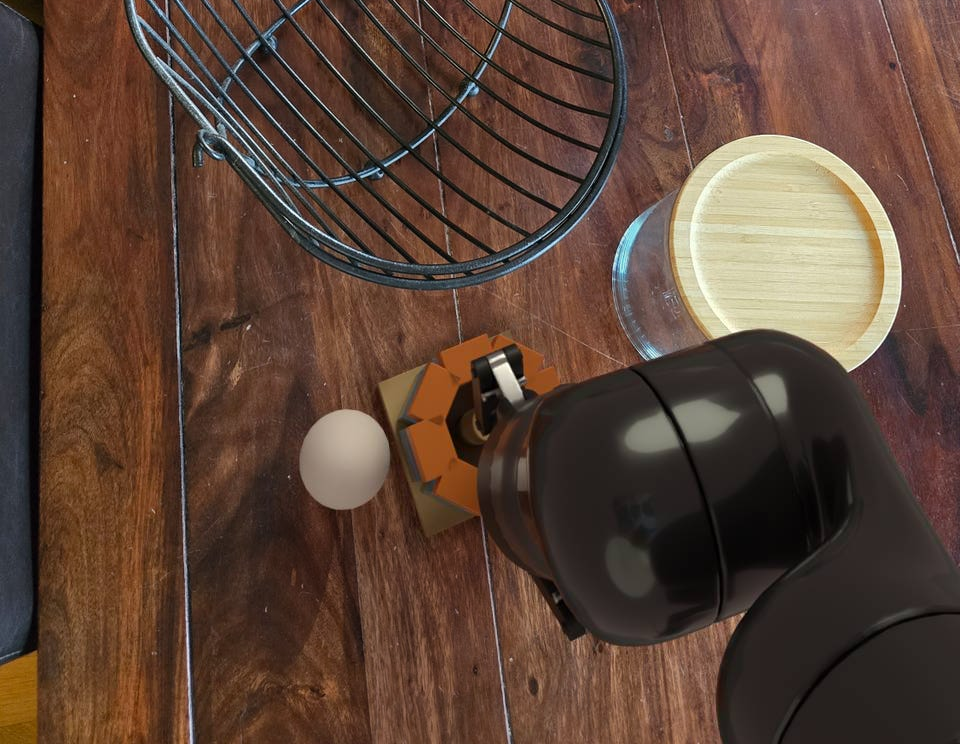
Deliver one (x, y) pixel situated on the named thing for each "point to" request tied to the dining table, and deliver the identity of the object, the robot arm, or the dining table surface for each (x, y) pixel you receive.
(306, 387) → the dining table surface
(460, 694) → the dining table surface
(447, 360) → the orange ring
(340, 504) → the egg
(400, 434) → the ring stack
